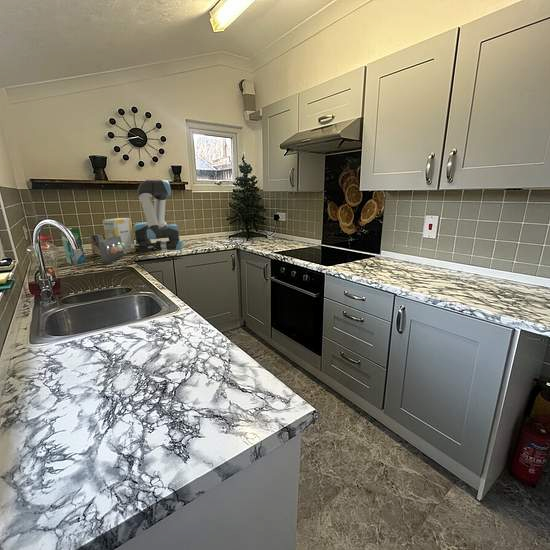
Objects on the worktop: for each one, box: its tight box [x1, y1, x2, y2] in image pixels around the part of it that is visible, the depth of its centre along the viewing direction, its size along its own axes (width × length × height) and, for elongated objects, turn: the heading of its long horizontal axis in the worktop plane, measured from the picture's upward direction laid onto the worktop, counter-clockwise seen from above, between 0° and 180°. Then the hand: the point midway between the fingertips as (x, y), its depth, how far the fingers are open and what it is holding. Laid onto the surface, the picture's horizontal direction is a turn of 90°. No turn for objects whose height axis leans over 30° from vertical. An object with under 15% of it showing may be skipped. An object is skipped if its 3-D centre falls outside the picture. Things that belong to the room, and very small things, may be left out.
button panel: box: [95, 236, 125, 265], centre depth 220 cm, size 8×24×16 cm, turn 1°
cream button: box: [116, 245, 123, 251], centre depth 220 cm, size 3×4×4 cm
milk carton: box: [60, 227, 86, 266], centre depth 213 cm, size 9×9×25 cm
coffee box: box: [88, 234, 106, 256], centre depth 241 cm, size 9×6×16 cm
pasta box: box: [102, 217, 137, 255], centre depth 242 cm, size 18×10×28 cm, turn 164°
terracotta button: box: [110, 247, 117, 254], centre depth 212 cm, size 3×4×4 cm
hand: (131, 246), depth 226 cm, fingers closed
